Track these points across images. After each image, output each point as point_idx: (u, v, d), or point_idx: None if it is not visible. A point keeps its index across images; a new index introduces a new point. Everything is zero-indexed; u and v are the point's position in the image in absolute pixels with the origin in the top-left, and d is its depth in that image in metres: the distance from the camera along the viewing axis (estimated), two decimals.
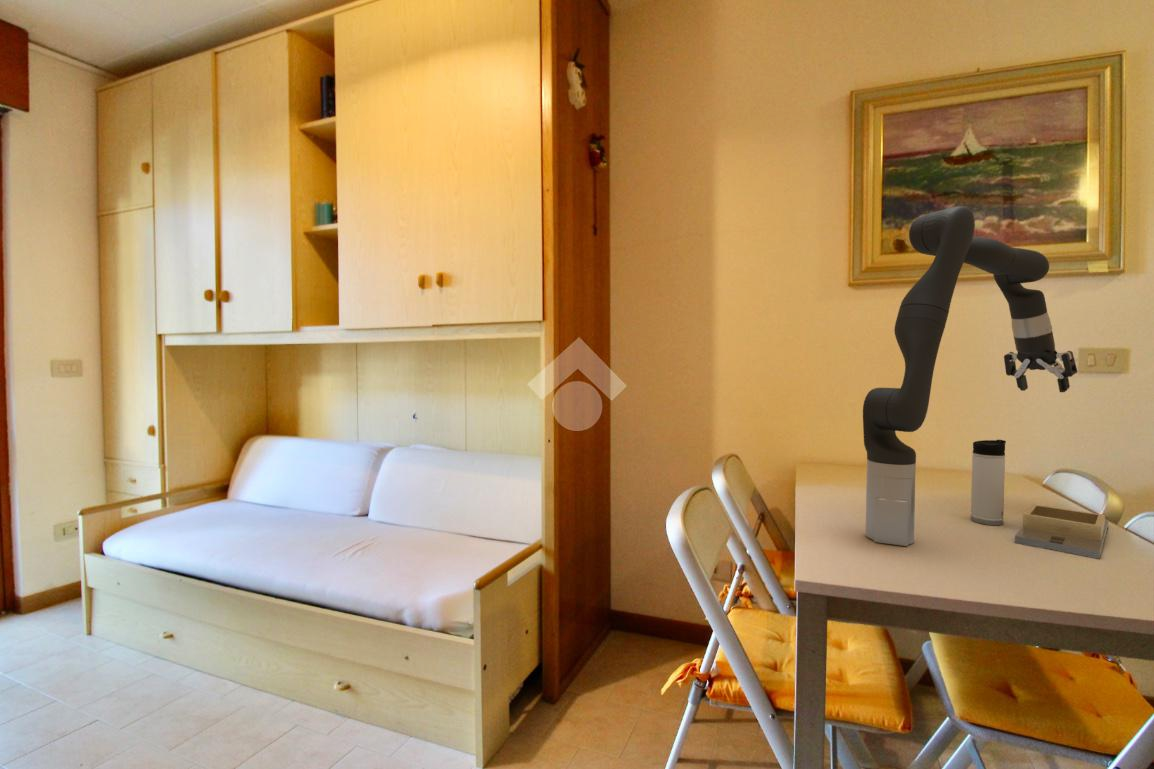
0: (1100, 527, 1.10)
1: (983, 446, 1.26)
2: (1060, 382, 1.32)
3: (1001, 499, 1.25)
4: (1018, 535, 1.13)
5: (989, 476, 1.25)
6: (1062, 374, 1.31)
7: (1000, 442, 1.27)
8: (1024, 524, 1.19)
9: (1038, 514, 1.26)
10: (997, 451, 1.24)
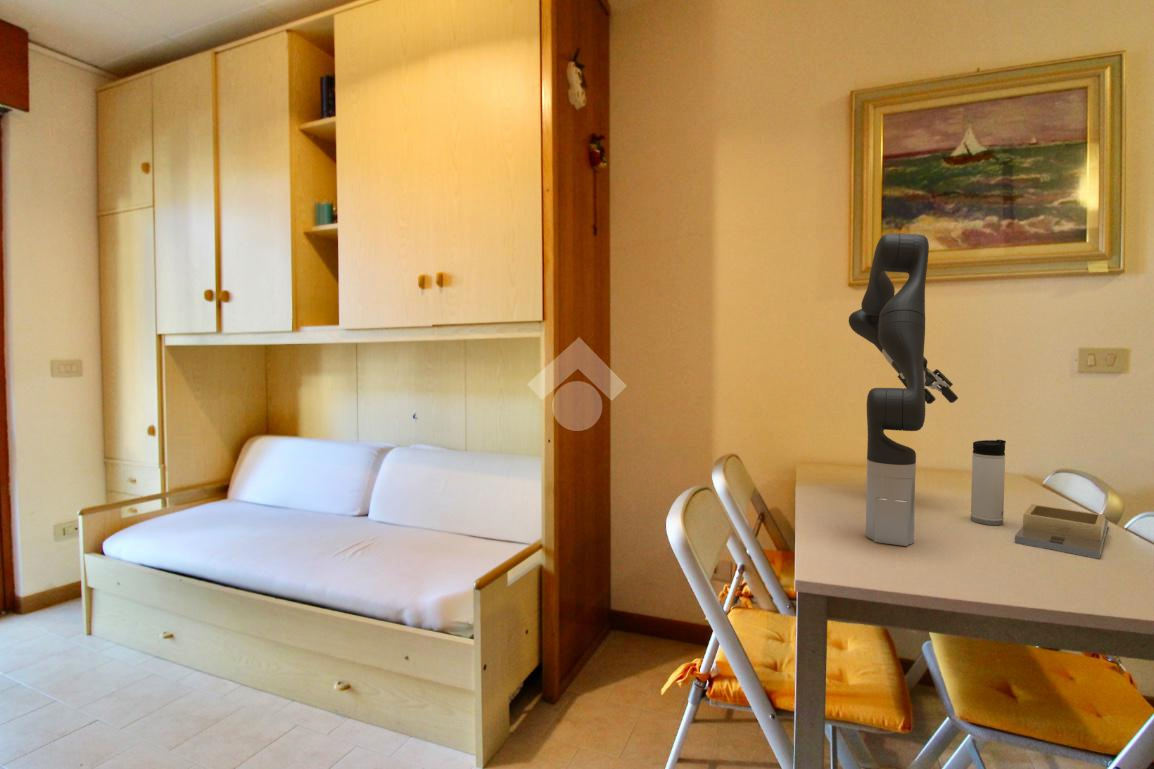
0: (1100, 527, 1.10)
1: (983, 446, 1.26)
2: (950, 390, 1.40)
3: (1001, 499, 1.25)
4: (1018, 535, 1.13)
5: (989, 476, 1.25)
6: None
7: (1000, 442, 1.27)
8: (1024, 524, 1.19)
9: (1038, 514, 1.26)
10: (997, 451, 1.24)
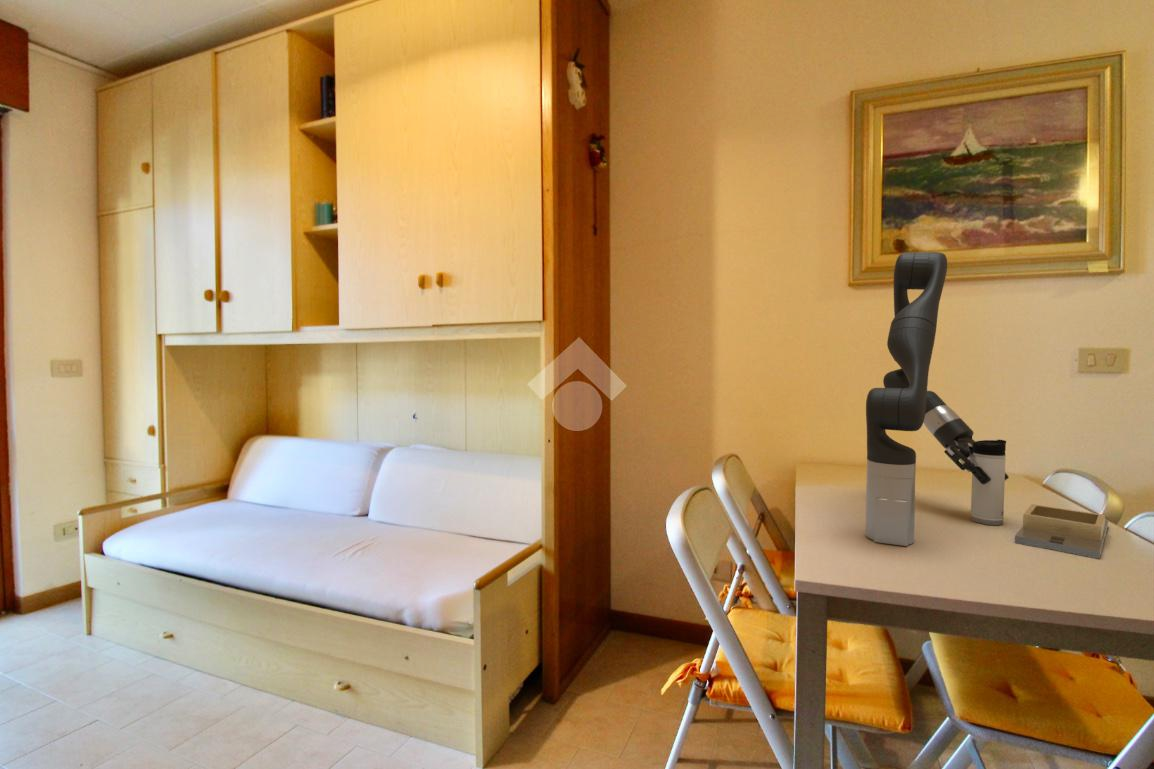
0: (1100, 527, 1.10)
1: (983, 446, 1.26)
2: None
3: (1001, 499, 1.25)
4: (1018, 535, 1.13)
5: (989, 476, 1.25)
6: None
7: (1000, 442, 1.27)
8: (1024, 524, 1.19)
9: (1038, 514, 1.26)
10: (998, 451, 1.24)
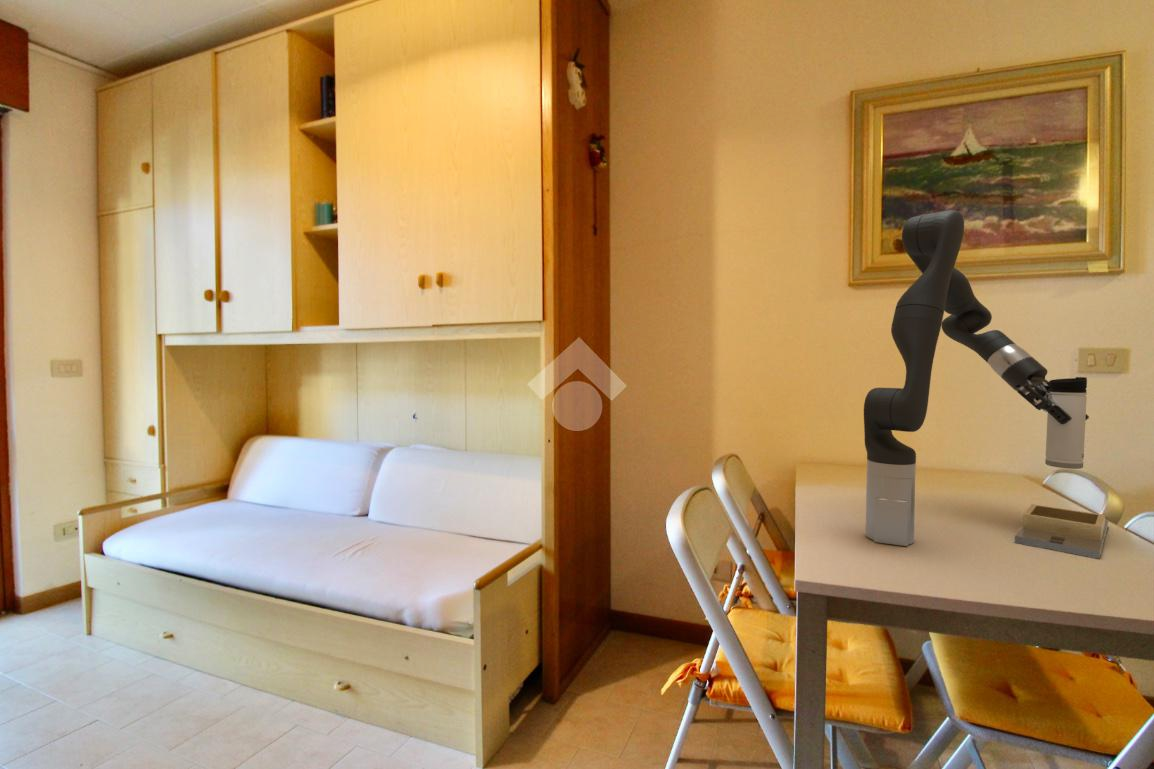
0: (1100, 527, 1.10)
1: (1062, 383, 1.16)
2: None
3: (1082, 440, 1.15)
4: (1018, 535, 1.13)
5: (1069, 415, 1.15)
6: None
7: (1080, 379, 1.17)
8: (1024, 524, 1.19)
9: (1038, 514, 1.26)
10: (1079, 387, 1.14)
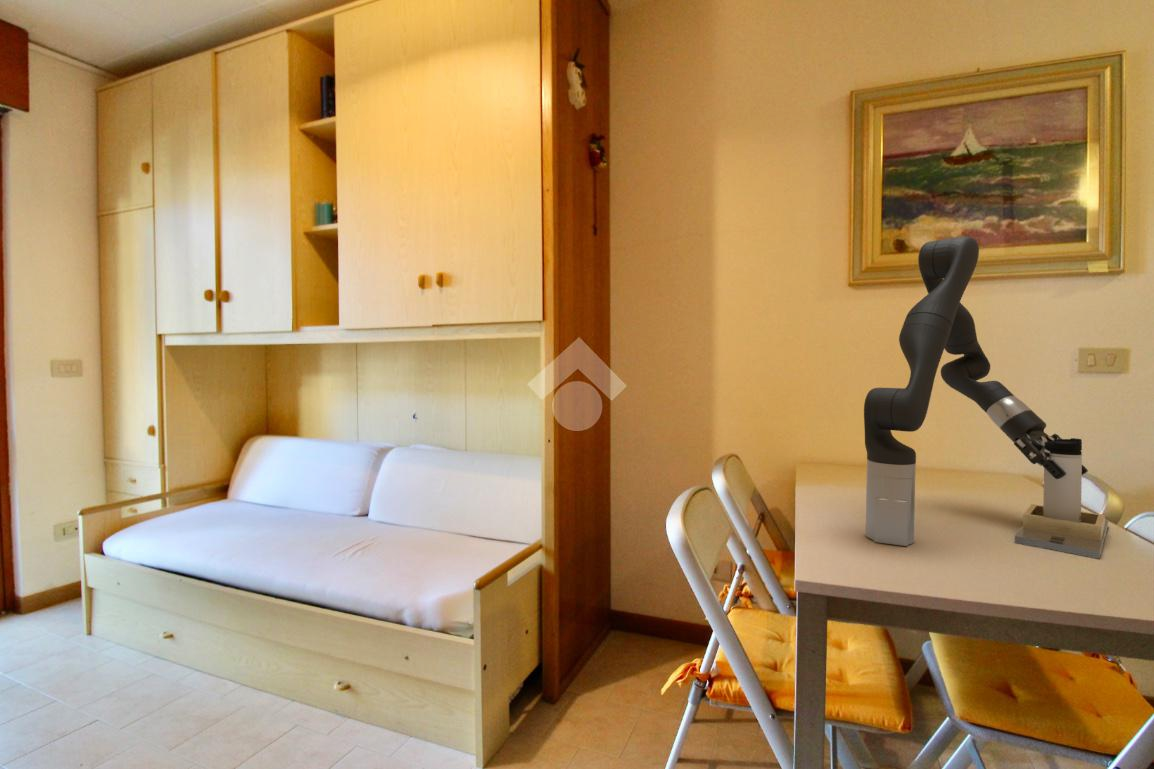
0: (1100, 527, 1.10)
1: (1058, 445, 1.17)
2: None
3: (1079, 502, 1.16)
4: (1018, 535, 1.13)
5: (1065, 477, 1.16)
6: None
7: (1075, 441, 1.18)
8: (1024, 524, 1.19)
9: (1038, 514, 1.26)
10: (1074, 450, 1.16)
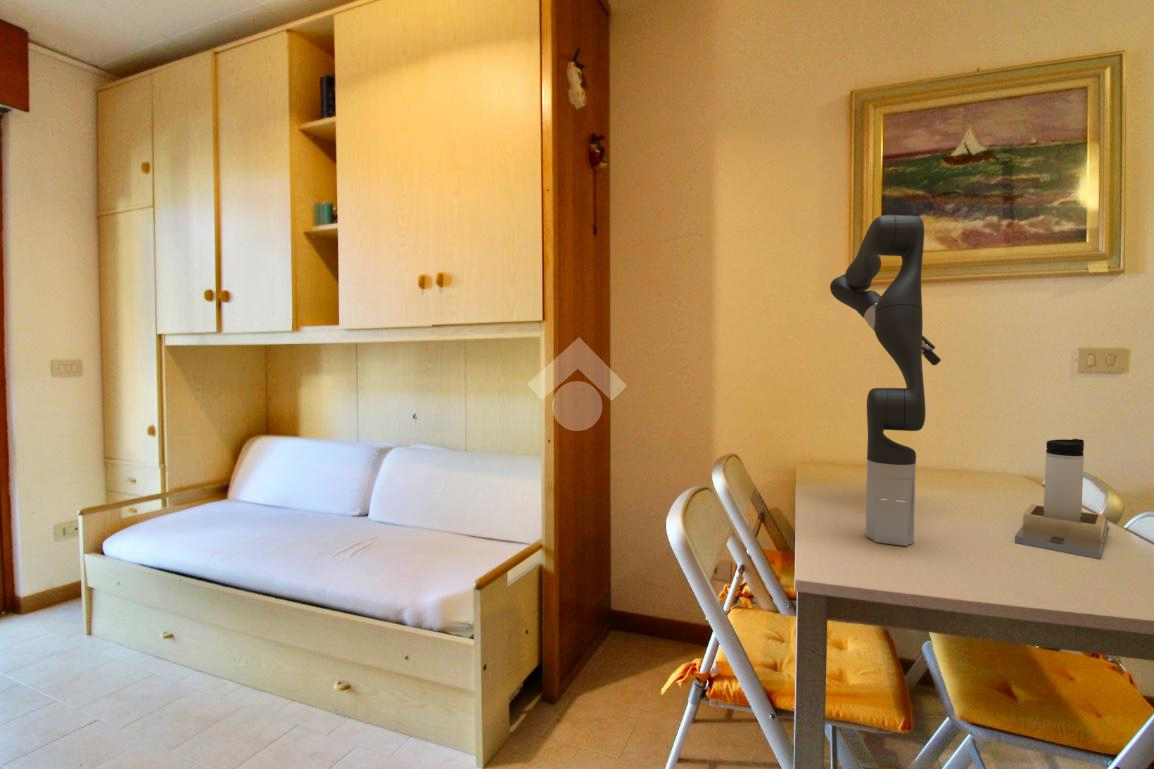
0: (1100, 527, 1.10)
1: (1060, 446, 1.16)
2: (933, 352, 1.37)
3: (1079, 503, 1.16)
4: (1018, 535, 1.13)
5: (1066, 478, 1.16)
6: None
7: (1077, 441, 1.18)
8: (1024, 524, 1.19)
9: (1038, 514, 1.26)
10: (1076, 451, 1.15)
